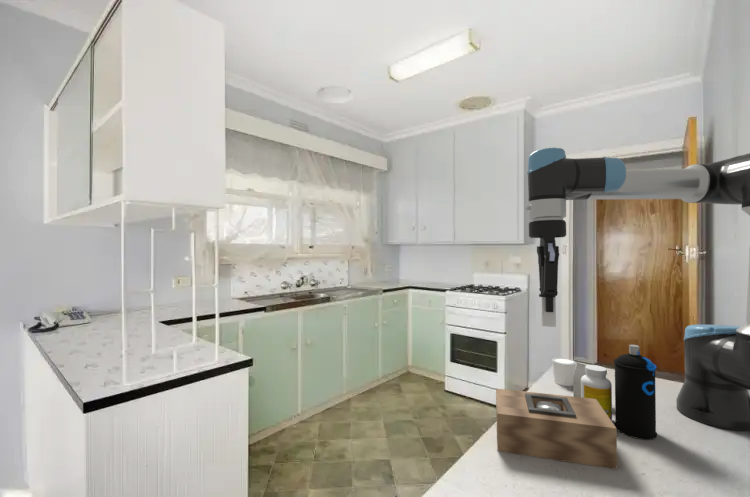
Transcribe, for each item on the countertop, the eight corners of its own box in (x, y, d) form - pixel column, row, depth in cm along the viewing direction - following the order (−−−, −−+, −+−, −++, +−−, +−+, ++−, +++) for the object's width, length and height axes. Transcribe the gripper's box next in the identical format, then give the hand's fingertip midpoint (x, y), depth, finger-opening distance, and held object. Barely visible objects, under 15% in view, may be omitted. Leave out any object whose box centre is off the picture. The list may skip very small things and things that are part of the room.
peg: (559, 437, 81) (559, 402, 81) (563, 449, 76) (563, 412, 76) (535, 434, 82) (535, 399, 82) (538, 445, 78) (537, 409, 78)
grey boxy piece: (598, 407, 96) (597, 370, 96) (573, 398, 102) (573, 363, 102) (605, 404, 98) (605, 367, 98) (580, 395, 104) (580, 361, 104)
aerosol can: (611, 431, 83) (610, 346, 83) (617, 418, 90) (616, 339, 89) (655, 444, 78) (654, 353, 78) (659, 429, 84) (658, 345, 84)
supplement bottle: (617, 426, 86) (616, 373, 86) (586, 424, 87) (586, 371, 87) (605, 413, 92) (604, 364, 92) (577, 411, 94) (576, 362, 94)
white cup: (581, 386, 110) (580, 364, 110) (559, 387, 110) (558, 364, 110) (568, 378, 117) (568, 357, 117) (547, 378, 117) (547, 357, 117)
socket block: (596, 433, 83) (595, 396, 83) (616, 469, 69) (616, 425, 69) (496, 420, 89) (496, 386, 89) (497, 450, 76) (497, 410, 76)
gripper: (525, 222, 87) (527, 319, 87) (532, 218, 74) (533, 331, 74) (560, 221, 84) (561, 320, 84) (572, 217, 72) (574, 333, 72)
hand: (548, 325), depth 79 cm, fingers closed
